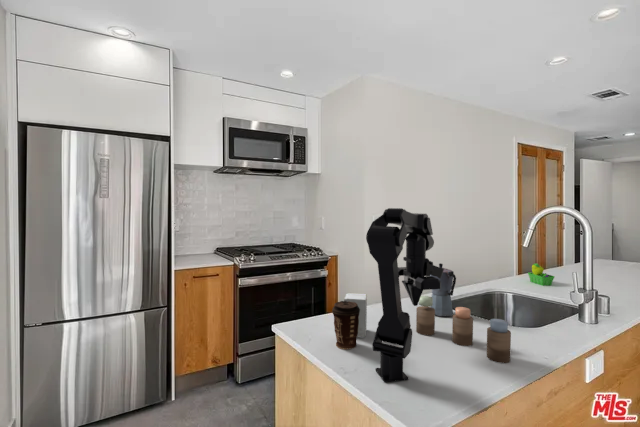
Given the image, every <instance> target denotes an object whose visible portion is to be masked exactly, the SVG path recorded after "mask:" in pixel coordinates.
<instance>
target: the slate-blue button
mask: <svg viewBox="0 0 640 427" xmlns="http://www.w3.org/2000/svg"><path fill="white" fill-rule="evenodd" d="M489 327H490V329H491V330H492V331H495V332H500V333H506V332H508V330H509V322H508V321H507V320H506V319H505V320H504V319H501V318H491V319H490V325H489Z"/></svg>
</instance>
